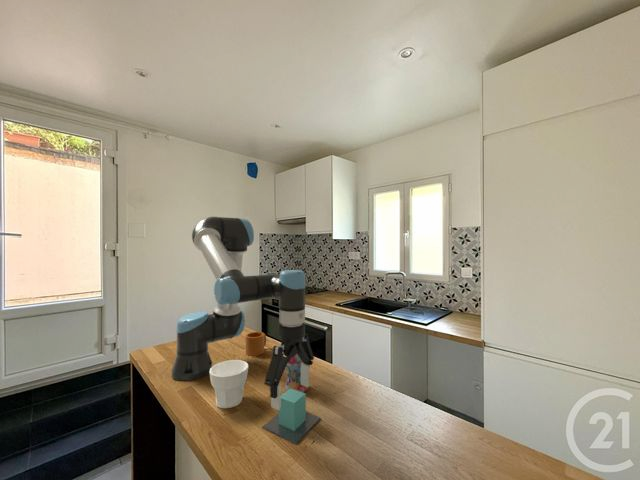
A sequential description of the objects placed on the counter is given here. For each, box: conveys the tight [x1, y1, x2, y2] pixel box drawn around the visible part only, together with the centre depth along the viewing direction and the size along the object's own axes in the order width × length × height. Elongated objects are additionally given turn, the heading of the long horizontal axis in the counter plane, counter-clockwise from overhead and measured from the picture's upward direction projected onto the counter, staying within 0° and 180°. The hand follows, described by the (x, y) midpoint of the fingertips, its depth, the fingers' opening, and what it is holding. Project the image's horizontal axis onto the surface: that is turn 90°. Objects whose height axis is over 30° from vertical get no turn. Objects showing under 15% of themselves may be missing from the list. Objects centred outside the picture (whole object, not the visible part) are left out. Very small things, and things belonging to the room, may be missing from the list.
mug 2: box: [284, 355, 311, 393], centre depth 97 cm, size 12×9×11 cm
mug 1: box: [245, 331, 267, 357], centre depth 130 cm, size 9×12×9 cm
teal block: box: [278, 389, 307, 431], centre depth 78 cm, size 6×6×8 cm
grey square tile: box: [262, 411, 321, 446], centre depth 78 cm, size 12×12×6 cm
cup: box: [208, 359, 249, 409], centre depth 89 cm, size 12×12×11 cm
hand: (291, 396), depth 78 cm, fingers open, 13 cm apart
